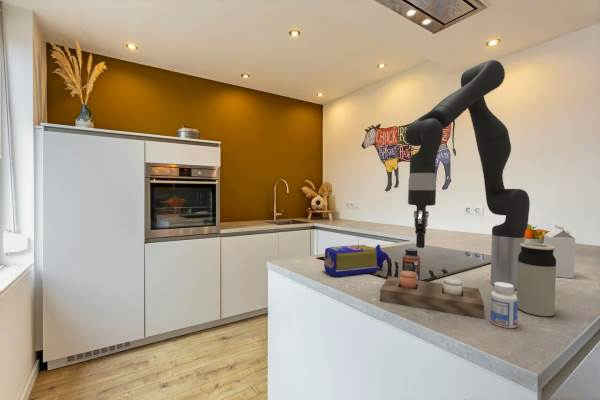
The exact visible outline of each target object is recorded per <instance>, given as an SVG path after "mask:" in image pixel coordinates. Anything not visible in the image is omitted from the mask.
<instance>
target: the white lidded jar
mask: <svg viewBox="0 0 600 400" xmlns="http://www.w3.org/2000/svg"><path fill="white" fill-rule="evenodd" d="M443 284H444V294H448V295H455V296H462V286H463V280H462V279H460V278H458V277H457V278H456V277H450V276H446V277H444V278H443Z"/></svg>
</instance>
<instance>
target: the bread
mask: <svg viewBox="0 0 600 400" xmlns="http://www.w3.org/2000/svg"><path fill="white" fill-rule="evenodd" d="M388 258H389V255H388V253H386V252H385V251H383V250H381V245H380V244H377V245H376V246H375V247H373V246H368V245H366V244H353V245H352V244H351V245H341V246H331V247H326V248H325V249H324V261H323V262H324V263H323V266H324V270H325V273H326V274H328V275H330V276H333V277H334V278H338V277H339V278H341V277H347V276H355V275H357V276H358V275H364V274H372V273H373V272H374V273H376V272H377V270H378V268H379V269H380V270H382V269H383V267H384V262H385V261H386V260H387V259H388Z"/></svg>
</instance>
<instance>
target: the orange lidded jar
mask: <svg viewBox="0 0 600 400" xmlns="http://www.w3.org/2000/svg"><path fill="white" fill-rule="evenodd" d="M399 274H400V275H399V278H400V287H401V288H408V289H414V290H416V273H415V272H413V271H400V273H399Z"/></svg>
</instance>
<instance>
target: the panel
mask: <svg viewBox="0 0 600 400" xmlns="http://www.w3.org/2000/svg"><path fill="white" fill-rule="evenodd" d="M481 294H482V293H481V292H480V289H479V288H478V287H469V286H464V285H462V296H455V295H448V294H444V283H439V282H433V281H427V280H426V281H424V280H419V281H418V280H416V290H414V289H408V288H401V287H400V277H394V276H387V278H386V280H385V281H384V282H383V284H382V286H381V287H380V290H379V300H380V302H384V303H390V304H395V305H396V304H397V305H403V306H408V307H413V308H419V309H425V310H430V311H431V310H432V311H438V312H442V313H443V312H444V313H449V314H455V315H461V316H467V317H471V318H479V319H485V315H484V314H485V304H484V302H483V301H484V300H483V298H482V295H481Z"/></svg>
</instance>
